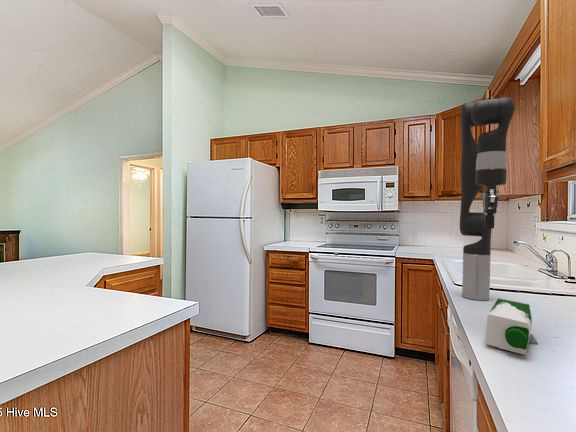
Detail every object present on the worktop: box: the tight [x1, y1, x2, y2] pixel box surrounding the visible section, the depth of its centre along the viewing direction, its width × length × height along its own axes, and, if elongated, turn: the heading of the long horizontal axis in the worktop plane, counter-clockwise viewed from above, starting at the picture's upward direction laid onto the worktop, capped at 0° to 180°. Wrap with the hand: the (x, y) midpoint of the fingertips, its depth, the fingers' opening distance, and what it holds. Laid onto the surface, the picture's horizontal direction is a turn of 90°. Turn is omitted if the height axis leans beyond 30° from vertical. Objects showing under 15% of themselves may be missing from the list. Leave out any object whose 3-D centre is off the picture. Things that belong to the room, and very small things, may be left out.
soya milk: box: [485, 297, 533, 356], centre depth 81 cm, size 9×9×20 cm
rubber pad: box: [528, 333, 539, 345], centre depth 84 cm, size 6×6×1 cm
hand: (489, 228), depth 93 cm, fingers closed
